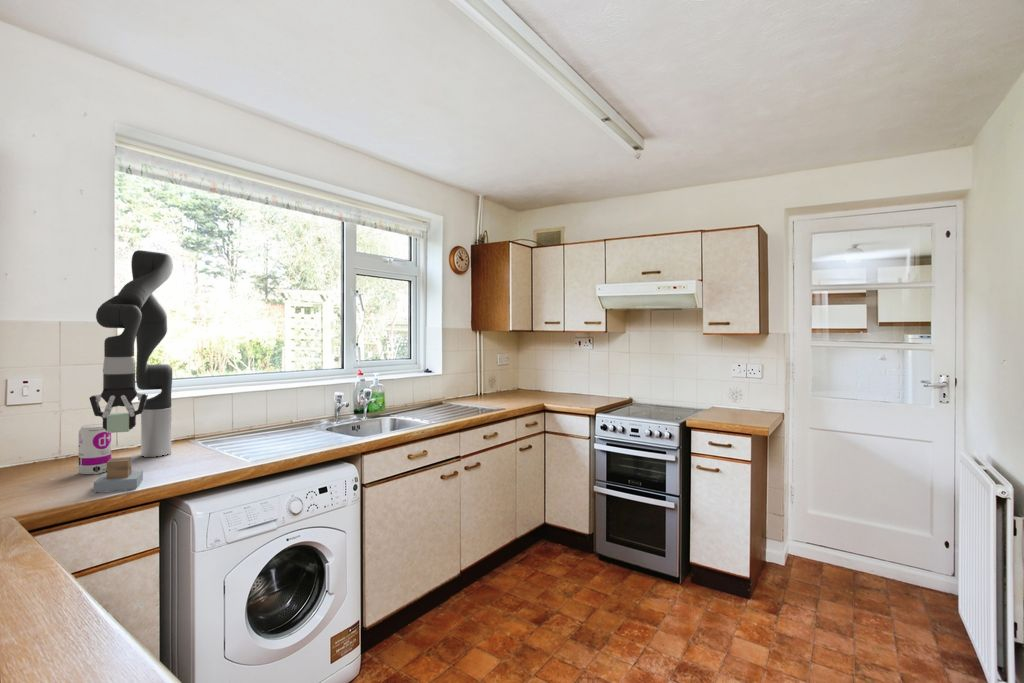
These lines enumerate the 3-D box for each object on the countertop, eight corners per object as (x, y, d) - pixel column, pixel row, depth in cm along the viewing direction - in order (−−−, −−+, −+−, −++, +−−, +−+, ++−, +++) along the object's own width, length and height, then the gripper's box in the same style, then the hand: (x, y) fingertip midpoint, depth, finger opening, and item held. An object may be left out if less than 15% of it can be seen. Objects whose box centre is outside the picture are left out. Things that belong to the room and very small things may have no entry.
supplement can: (117, 470, 169) (117, 424, 168) (89, 476, 161) (89, 429, 161) (100, 467, 171) (100, 422, 171) (72, 473, 164) (72, 426, 163)
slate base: (102, 483, 154) (102, 473, 154) (142, 479, 159) (142, 470, 159) (93, 493, 145) (93, 482, 145) (136, 488, 150) (136, 478, 150)
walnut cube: (110, 474, 153) (110, 458, 153) (131, 473, 155) (131, 456, 155) (106, 479, 149) (106, 462, 149) (127, 477, 151) (127, 460, 151)
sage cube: (111, 429, 153) (110, 413, 153) (131, 428, 155) (131, 412, 155) (106, 433, 148) (106, 415, 148) (128, 431, 151) (128, 414, 151)
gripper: (151, 370, 158) (150, 425, 158) (92, 371, 151) (92, 428, 152) (146, 372, 151) (146, 430, 152) (85, 373, 145) (85, 433, 145)
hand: (119, 429), depth 152 cm, fingers closed on sage cube, 5 cm apart
